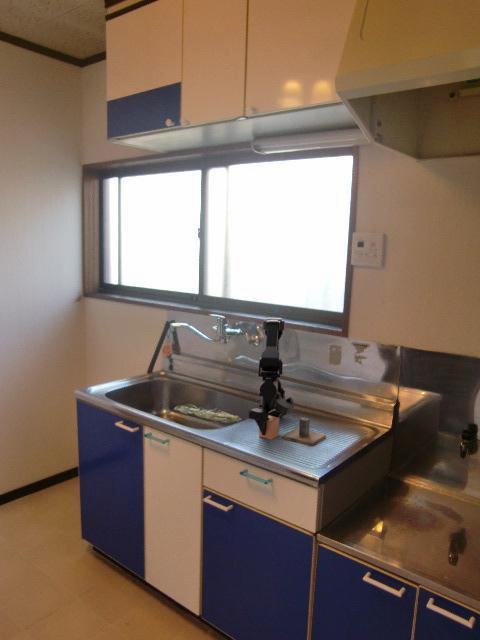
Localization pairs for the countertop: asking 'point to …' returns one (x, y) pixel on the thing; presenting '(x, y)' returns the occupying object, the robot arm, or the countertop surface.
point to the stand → (304, 434)
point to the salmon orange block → (271, 428)
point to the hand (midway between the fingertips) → (269, 432)
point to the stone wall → (208, 413)
